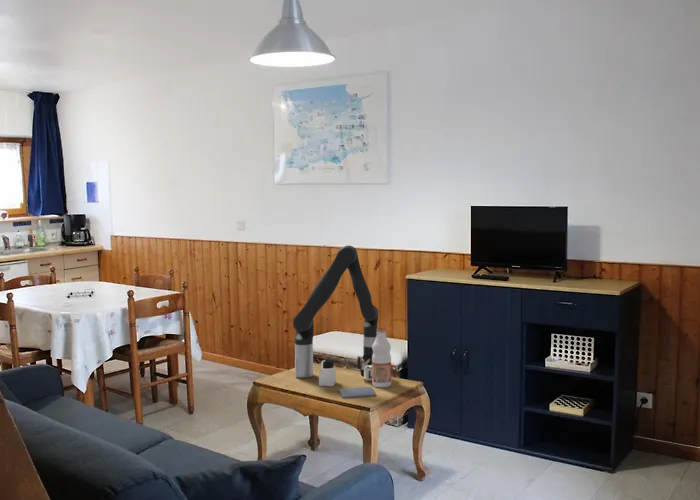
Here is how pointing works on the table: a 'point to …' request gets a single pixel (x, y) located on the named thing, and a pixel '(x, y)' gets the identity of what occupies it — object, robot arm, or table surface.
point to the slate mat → (357, 392)
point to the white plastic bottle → (381, 360)
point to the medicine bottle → (327, 373)
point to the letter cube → (368, 372)
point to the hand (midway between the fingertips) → (371, 375)
